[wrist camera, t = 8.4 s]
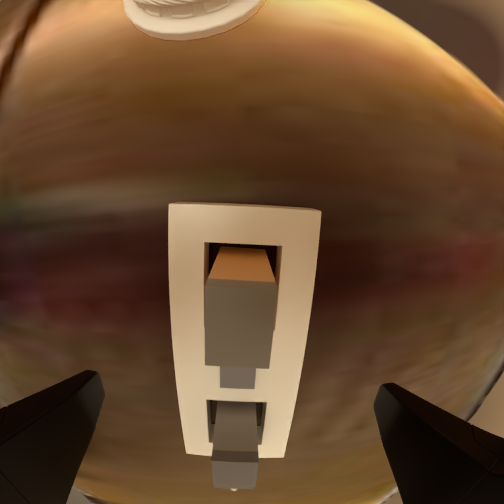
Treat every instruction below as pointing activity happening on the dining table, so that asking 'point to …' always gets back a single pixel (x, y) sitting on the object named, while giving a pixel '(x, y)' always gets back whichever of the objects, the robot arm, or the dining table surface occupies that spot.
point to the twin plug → (235, 446)
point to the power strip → (285, 327)
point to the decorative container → (188, 17)
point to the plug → (240, 309)
